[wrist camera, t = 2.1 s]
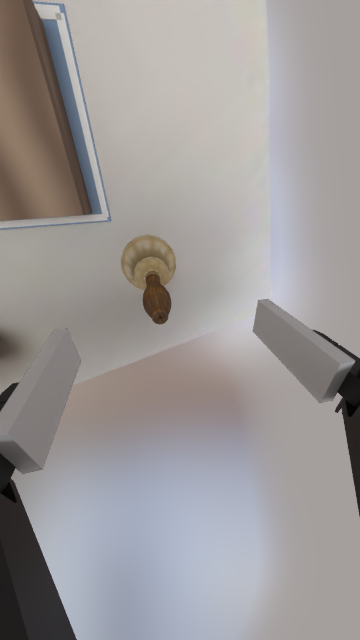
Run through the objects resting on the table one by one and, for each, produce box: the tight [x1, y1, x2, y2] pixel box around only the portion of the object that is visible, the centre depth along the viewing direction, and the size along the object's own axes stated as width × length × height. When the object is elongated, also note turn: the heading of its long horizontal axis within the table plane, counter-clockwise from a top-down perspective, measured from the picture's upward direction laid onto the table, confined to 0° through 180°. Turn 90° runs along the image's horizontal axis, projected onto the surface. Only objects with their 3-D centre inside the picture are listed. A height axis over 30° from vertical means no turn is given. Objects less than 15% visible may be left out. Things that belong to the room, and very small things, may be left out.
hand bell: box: [121, 235, 176, 324], centre depth 22 cm, size 8×8×16 cm
